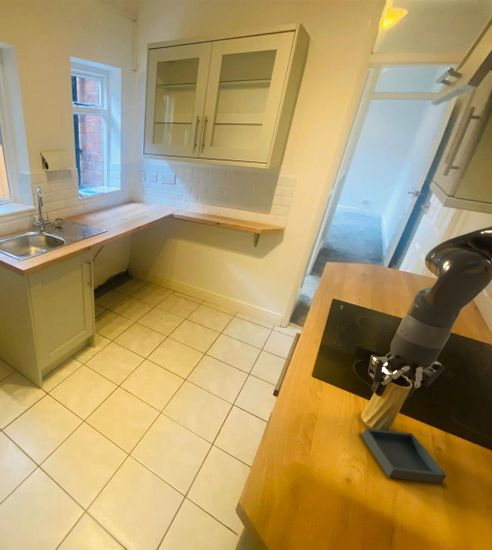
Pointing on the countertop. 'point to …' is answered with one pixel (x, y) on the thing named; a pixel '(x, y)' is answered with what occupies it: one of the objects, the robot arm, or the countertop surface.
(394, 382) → the vase
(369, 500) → the countertop surface
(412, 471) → the tray
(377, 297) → the countertop surface
